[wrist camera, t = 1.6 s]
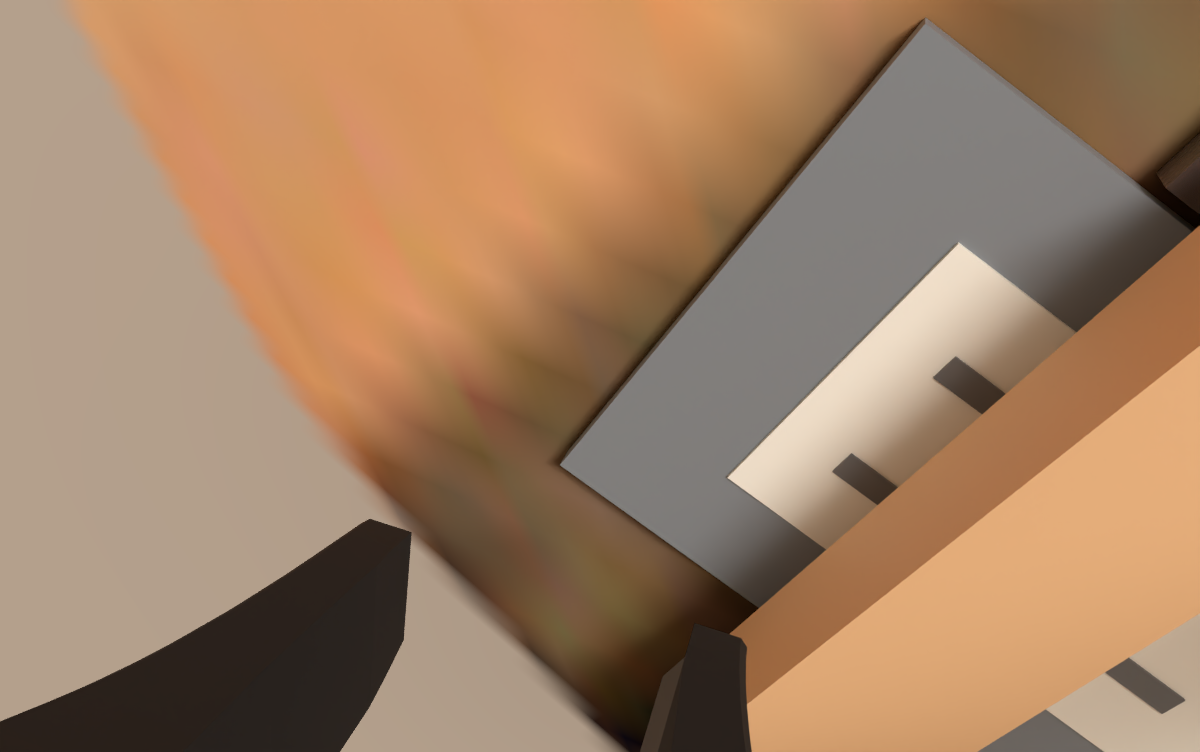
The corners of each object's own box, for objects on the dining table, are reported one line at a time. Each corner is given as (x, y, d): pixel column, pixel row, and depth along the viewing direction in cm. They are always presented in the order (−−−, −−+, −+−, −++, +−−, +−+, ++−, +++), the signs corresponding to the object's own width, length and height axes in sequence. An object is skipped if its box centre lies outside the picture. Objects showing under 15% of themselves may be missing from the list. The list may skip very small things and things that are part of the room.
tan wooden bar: (1376, 16, 15) (1566, 101, 10) (1578, 181, 15) (1843, 329, 11) (669, 652, 24) (616, 830, 20) (799, 744, 25) (773, 939, 20)
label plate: (1695, 619, 18) (1723, 648, 18) (1154, 873, 25) (1160, 901, 24) (925, 17, 17) (925, 25, 16) (567, 451, 24) (557, 468, 23)
